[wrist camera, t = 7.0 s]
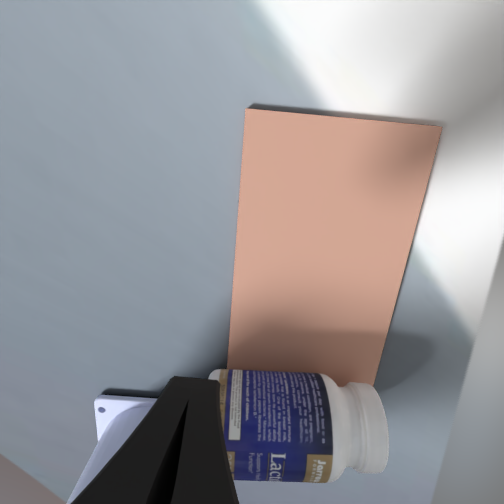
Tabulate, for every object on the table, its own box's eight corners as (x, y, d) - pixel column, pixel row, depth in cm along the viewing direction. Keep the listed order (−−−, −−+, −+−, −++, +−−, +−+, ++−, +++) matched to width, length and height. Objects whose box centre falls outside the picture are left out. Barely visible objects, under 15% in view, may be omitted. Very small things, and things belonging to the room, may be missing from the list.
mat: (366, 399, 22) (368, 403, 22) (225, 389, 22) (225, 393, 21) (438, 127, 16) (442, 126, 16) (245, 109, 16) (245, 108, 15)
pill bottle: (193, 482, 15) (405, 488, 15) (206, 358, 18) (380, 363, 18) (205, 477, 19) (365, 481, 19) (213, 379, 22) (351, 383, 23)
